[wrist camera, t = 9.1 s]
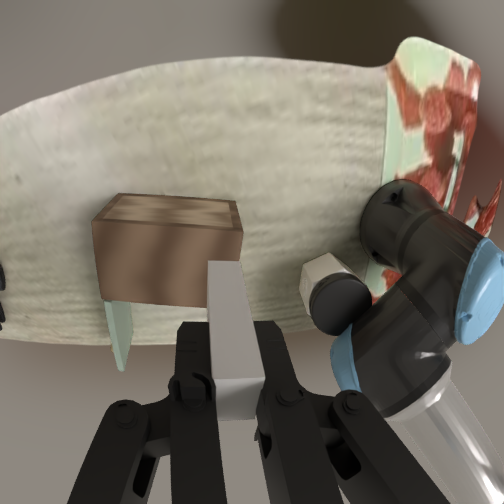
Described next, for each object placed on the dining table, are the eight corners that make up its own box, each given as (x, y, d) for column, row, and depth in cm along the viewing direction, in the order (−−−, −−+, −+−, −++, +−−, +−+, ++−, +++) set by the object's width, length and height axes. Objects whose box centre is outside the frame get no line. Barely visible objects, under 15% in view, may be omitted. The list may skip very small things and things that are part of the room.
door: (111, 263, 38) (92, 300, 30) (127, 264, 39) (111, 302, 31) (119, 330, 45) (108, 369, 37) (133, 332, 45) (124, 371, 37)
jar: (302, 248, 44) (317, 272, 32) (351, 253, 44) (379, 277, 32) (295, 301, 46) (305, 338, 34) (341, 304, 46) (363, 339, 34)
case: (235, 201, 37) (243, 232, 28) (226, 265, 42) (232, 309, 33) (118, 193, 34) (91, 221, 25) (121, 257, 39) (101, 299, 30)
